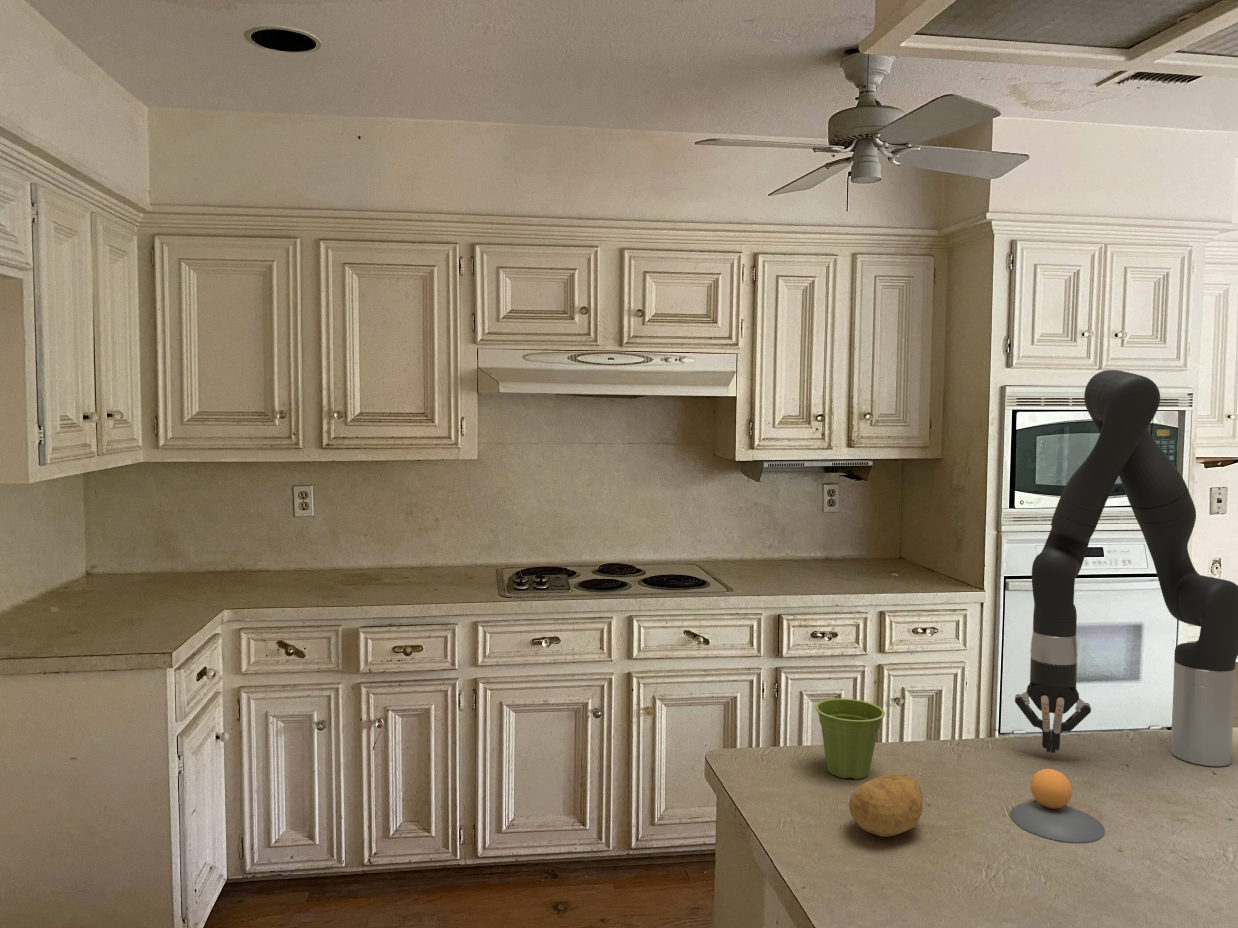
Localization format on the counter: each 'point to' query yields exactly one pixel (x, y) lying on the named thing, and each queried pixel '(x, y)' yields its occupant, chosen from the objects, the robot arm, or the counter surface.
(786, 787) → the counter surface
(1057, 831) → the disc
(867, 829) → the potato
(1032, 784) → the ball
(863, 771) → the plant pot
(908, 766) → the counter surface
